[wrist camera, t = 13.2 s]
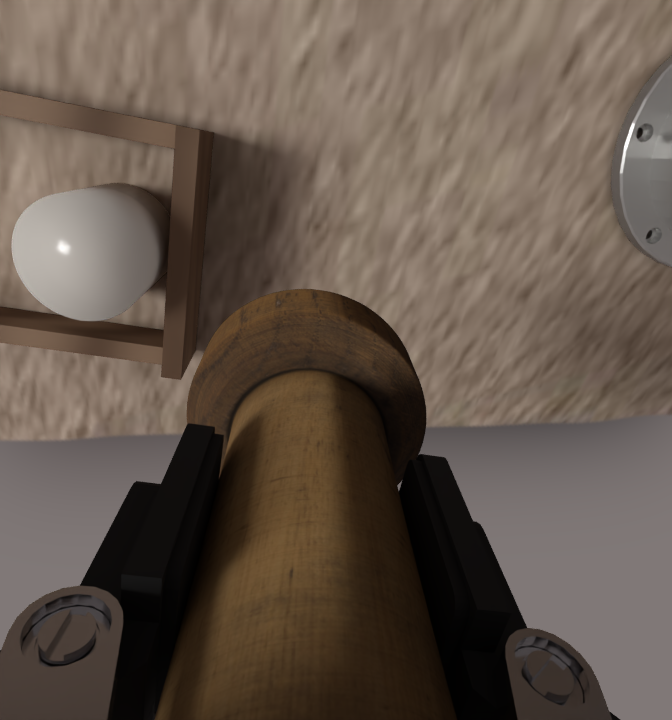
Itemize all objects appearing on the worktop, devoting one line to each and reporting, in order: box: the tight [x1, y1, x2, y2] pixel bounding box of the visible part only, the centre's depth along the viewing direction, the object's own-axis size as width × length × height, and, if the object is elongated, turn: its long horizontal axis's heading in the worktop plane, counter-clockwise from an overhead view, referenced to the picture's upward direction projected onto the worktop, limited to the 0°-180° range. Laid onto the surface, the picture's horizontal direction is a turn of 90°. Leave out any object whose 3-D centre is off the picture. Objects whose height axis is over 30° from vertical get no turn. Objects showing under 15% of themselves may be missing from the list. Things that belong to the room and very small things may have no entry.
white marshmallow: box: [12, 183, 170, 321], centre depth 24 cm, size 6×6×6 cm
